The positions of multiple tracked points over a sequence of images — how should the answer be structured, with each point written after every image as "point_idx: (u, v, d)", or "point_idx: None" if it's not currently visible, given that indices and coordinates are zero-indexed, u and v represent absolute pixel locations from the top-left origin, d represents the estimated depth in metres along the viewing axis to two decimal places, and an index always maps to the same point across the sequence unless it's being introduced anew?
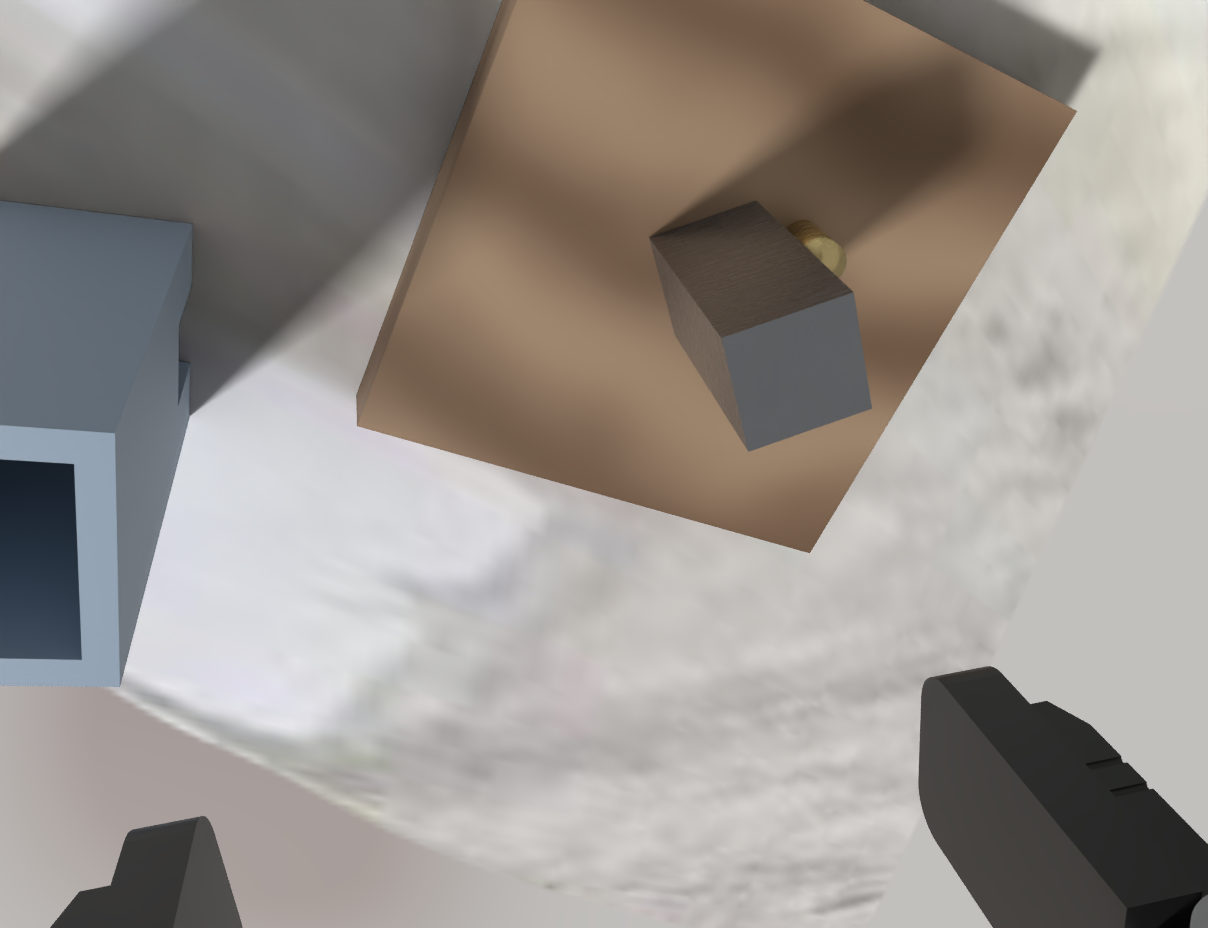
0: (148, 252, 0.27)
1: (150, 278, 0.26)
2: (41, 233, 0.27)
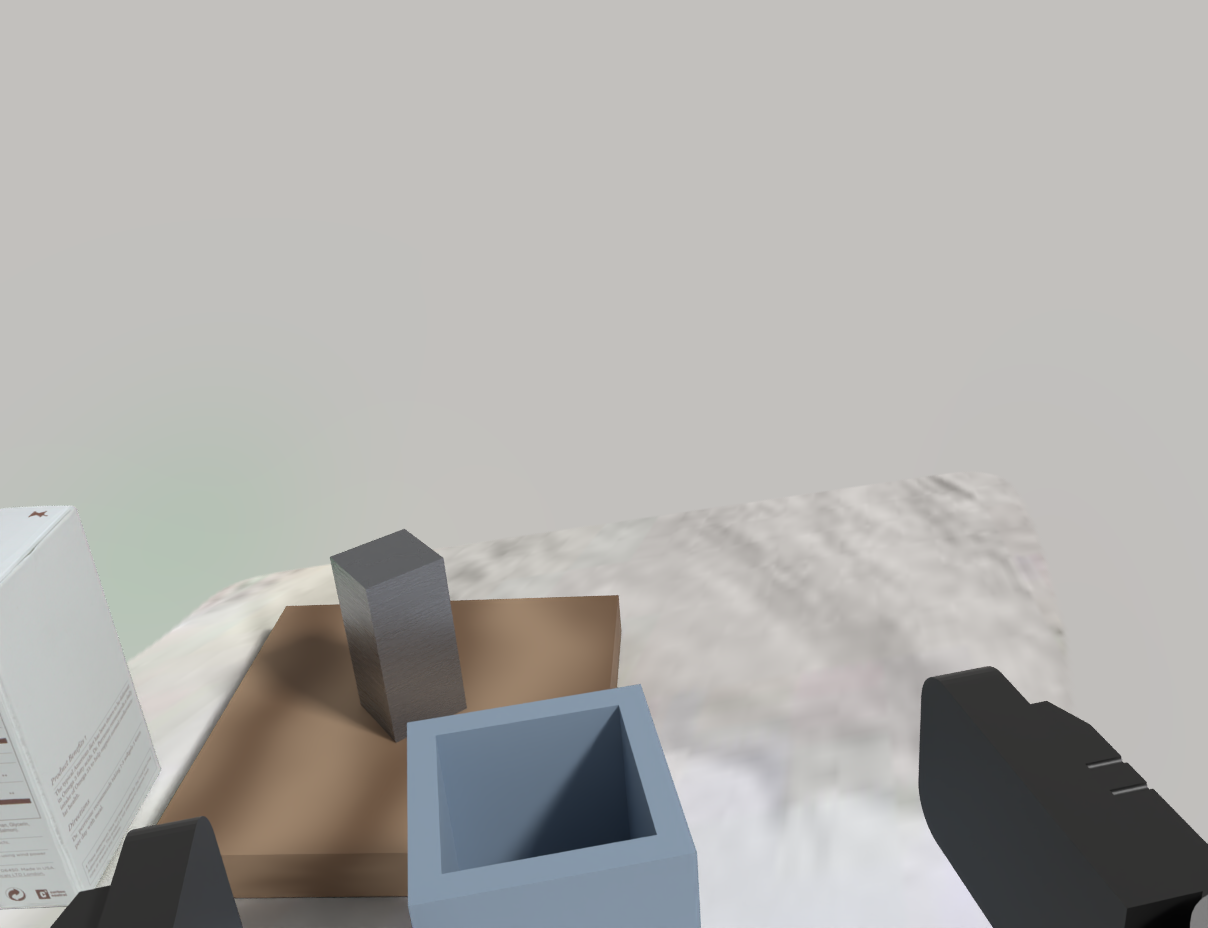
0: None
1: None
2: None
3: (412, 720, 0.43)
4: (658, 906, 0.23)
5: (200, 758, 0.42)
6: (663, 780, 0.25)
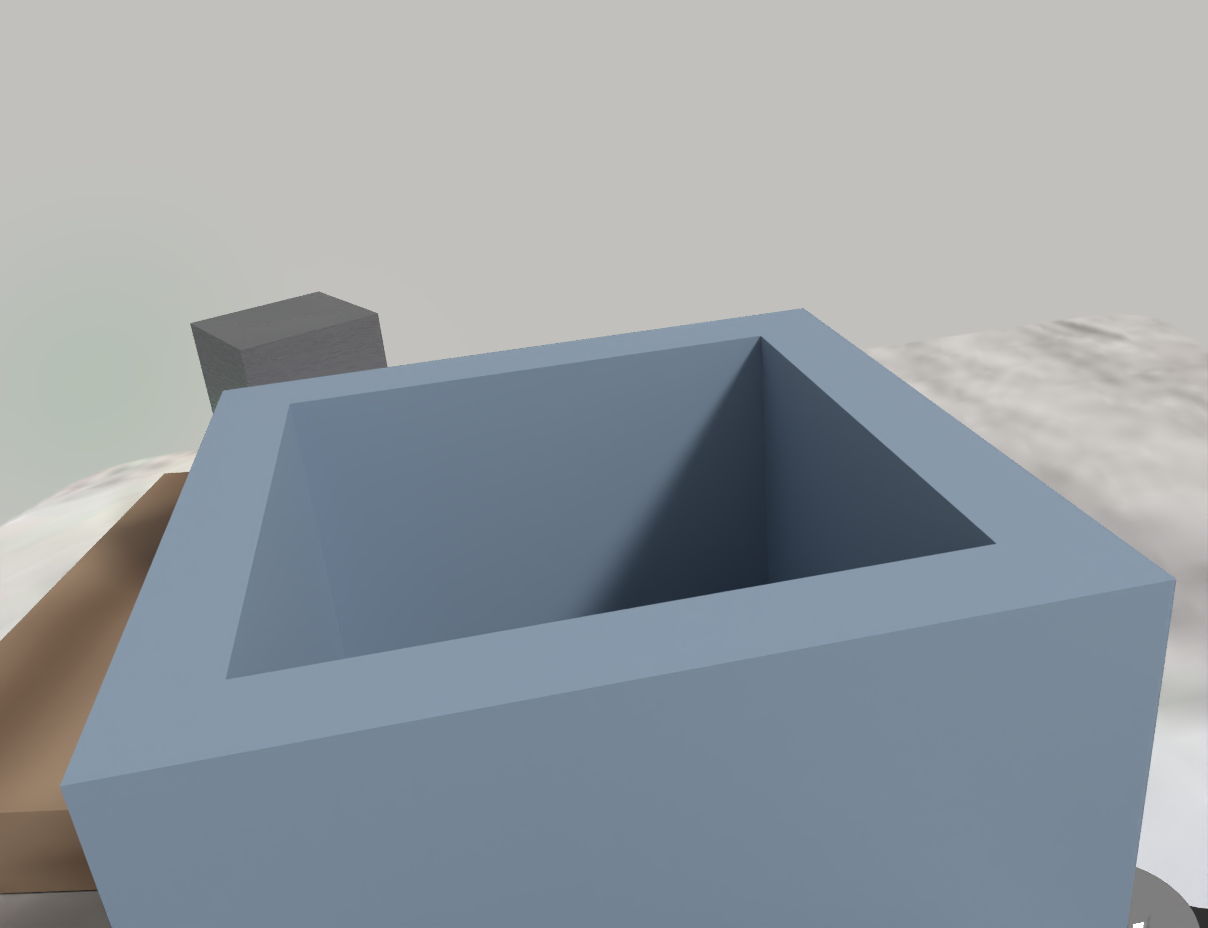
0: None
1: None
2: None
3: None
4: (1014, 793, 0.07)
5: None
6: (948, 436, 0.08)
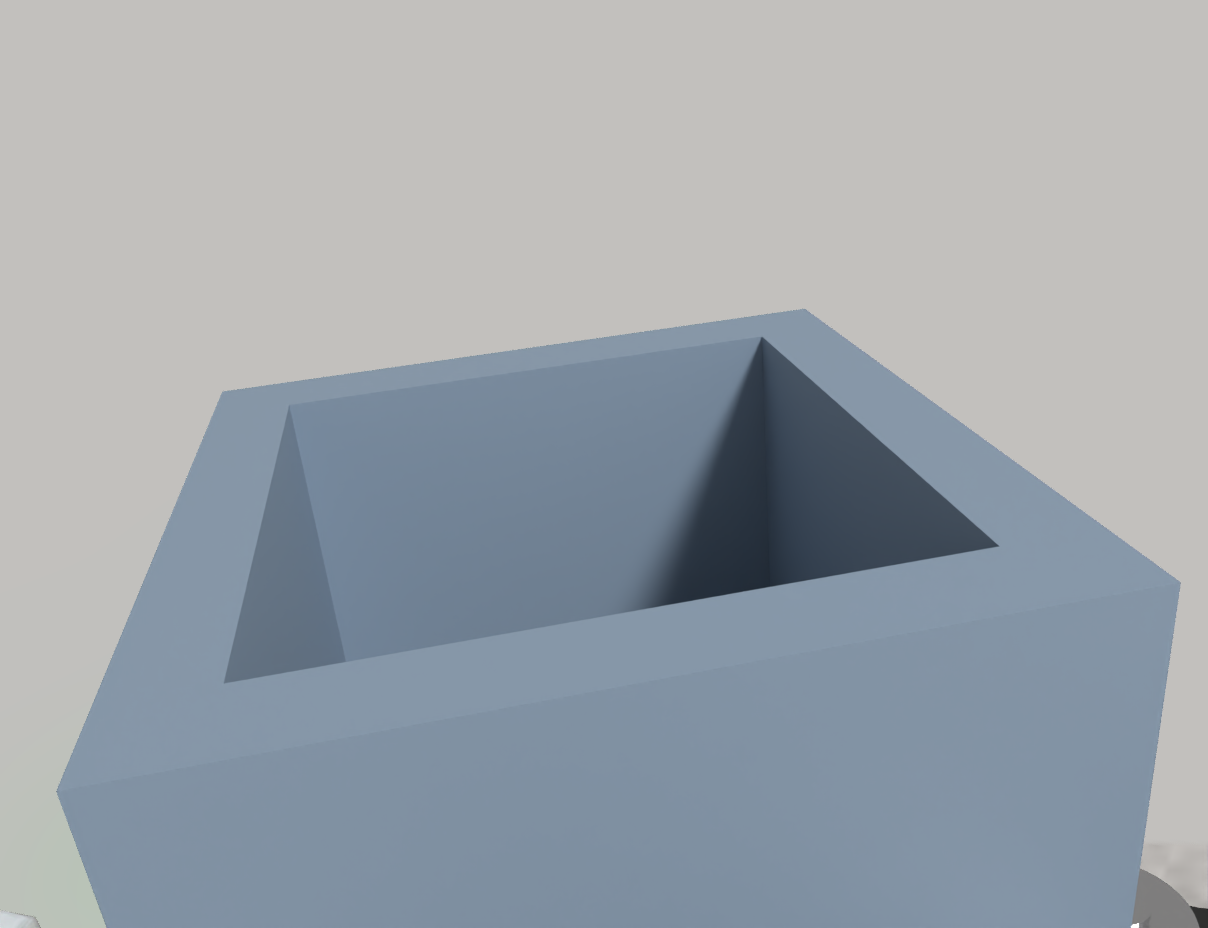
0: None
1: None
2: None
3: None
4: (1017, 797, 0.06)
5: None
6: (951, 437, 0.08)
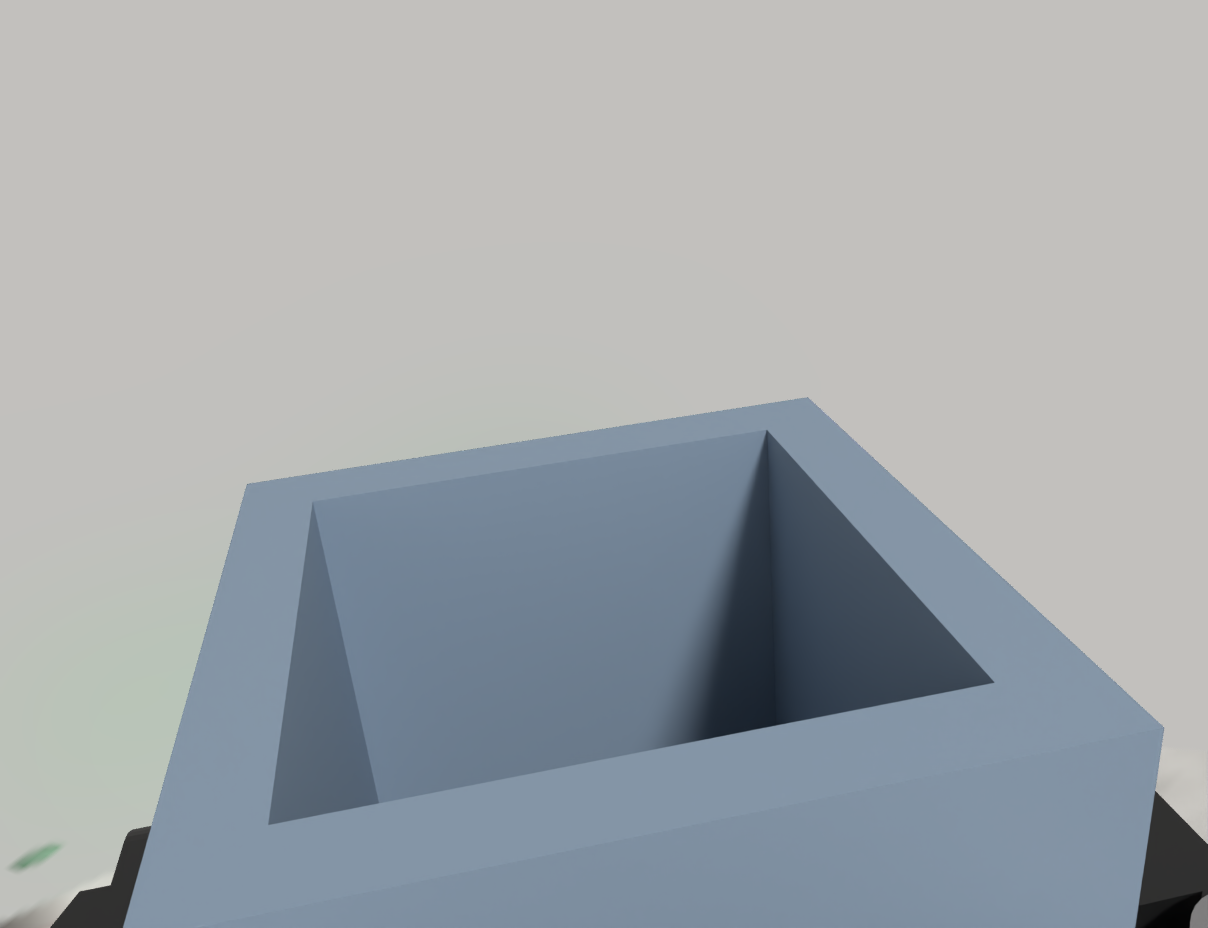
0: None
1: None
2: None
3: None
4: (1011, 921, 0.07)
5: None
6: (948, 555, 0.09)
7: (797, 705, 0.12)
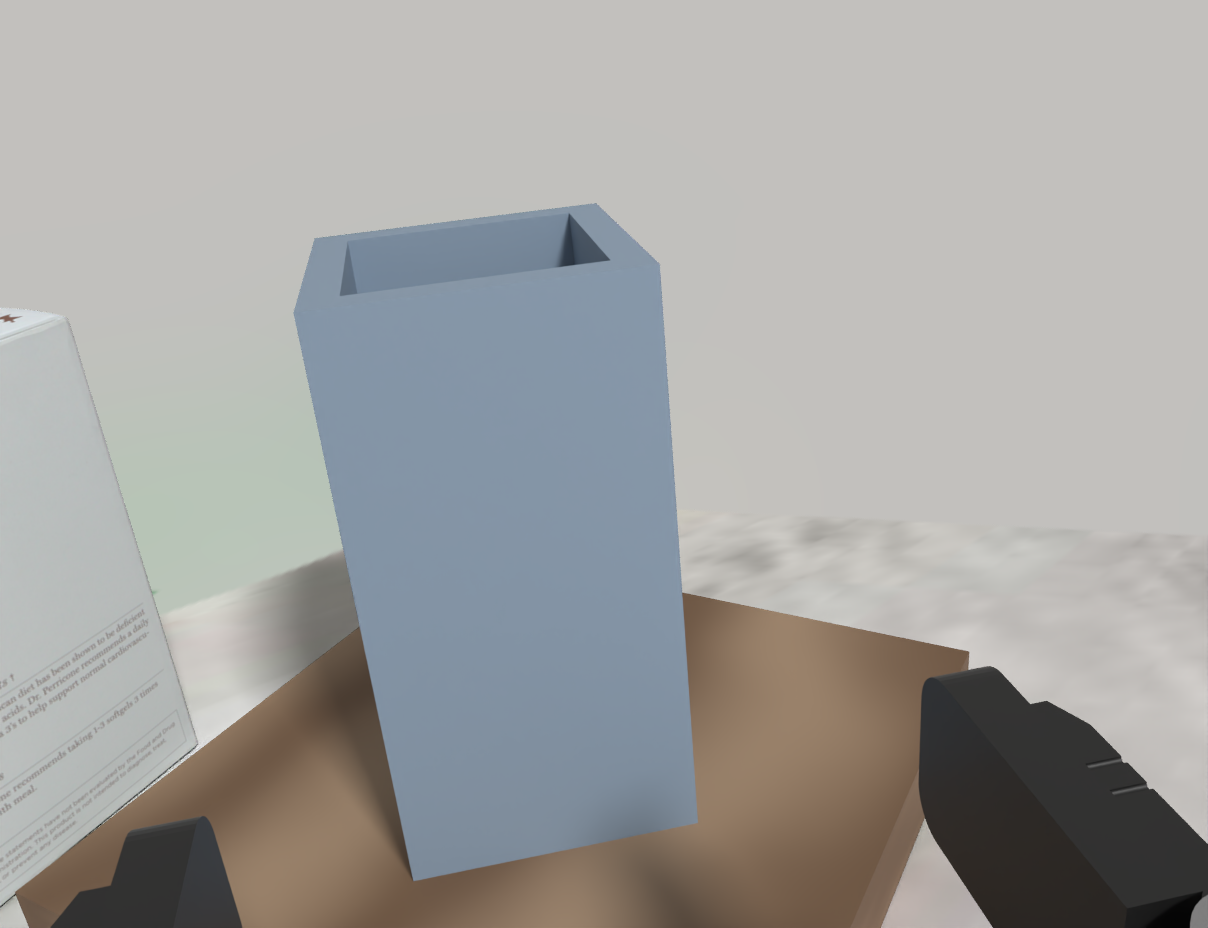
0: None
1: None
2: None
3: None
4: (613, 346, 0.19)
5: (207, 750, 0.27)
6: (620, 238, 0.20)
7: None
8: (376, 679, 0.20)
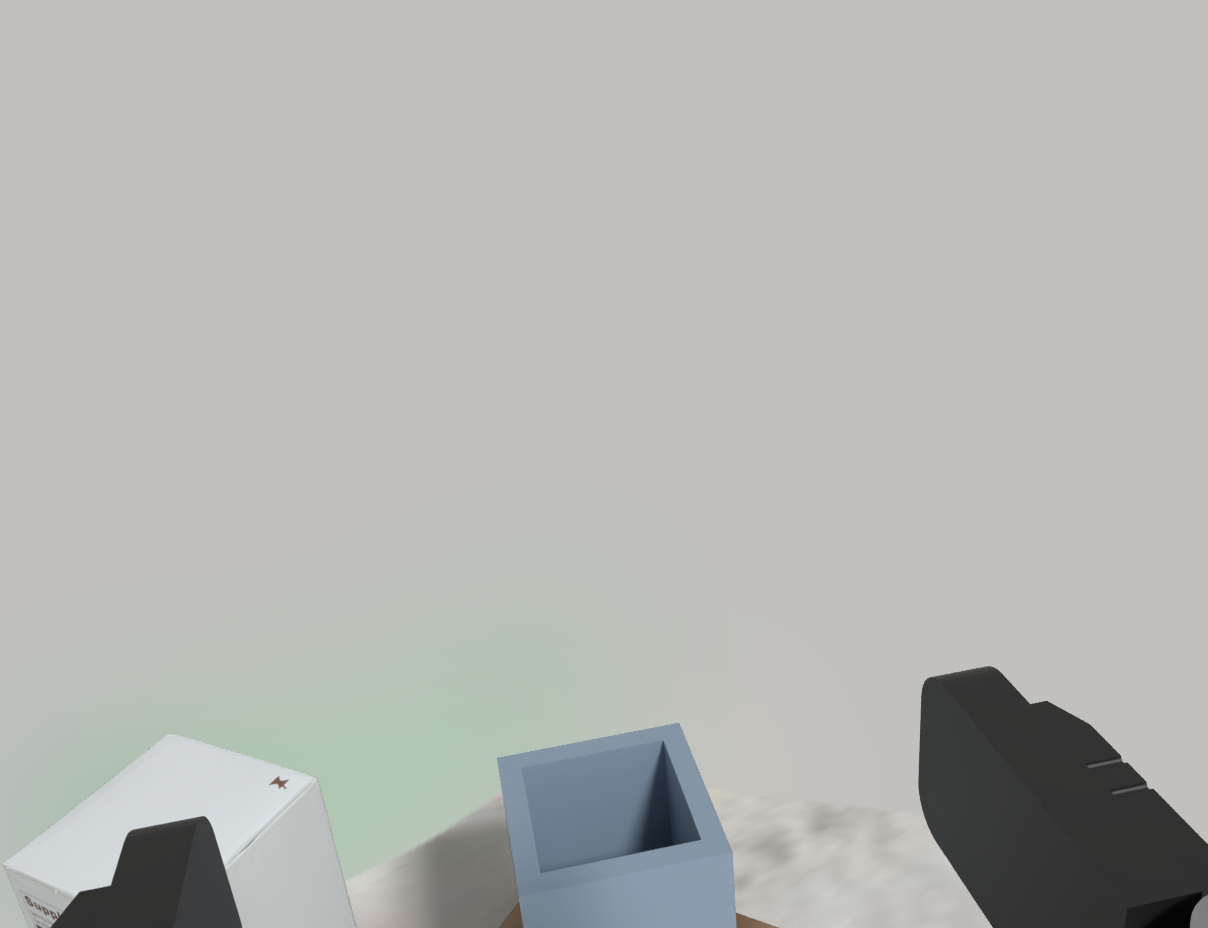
0: None
1: None
2: None
3: None
4: (703, 894, 0.31)
5: None
6: (703, 798, 0.32)
7: (674, 826, 0.35)
8: None
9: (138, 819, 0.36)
